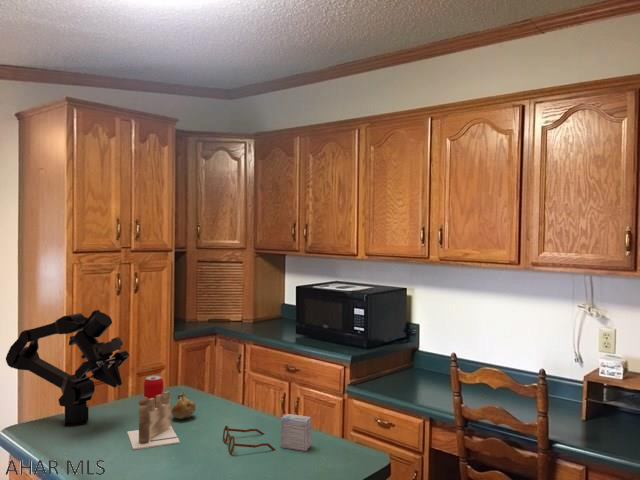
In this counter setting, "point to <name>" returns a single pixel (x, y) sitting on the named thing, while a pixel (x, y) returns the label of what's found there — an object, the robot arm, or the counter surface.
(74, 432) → the counter surface
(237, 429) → the glasses
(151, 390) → the beverage can
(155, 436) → the card
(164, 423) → the fence section
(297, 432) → the medicine box
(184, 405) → the onion
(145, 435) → the gatepost
